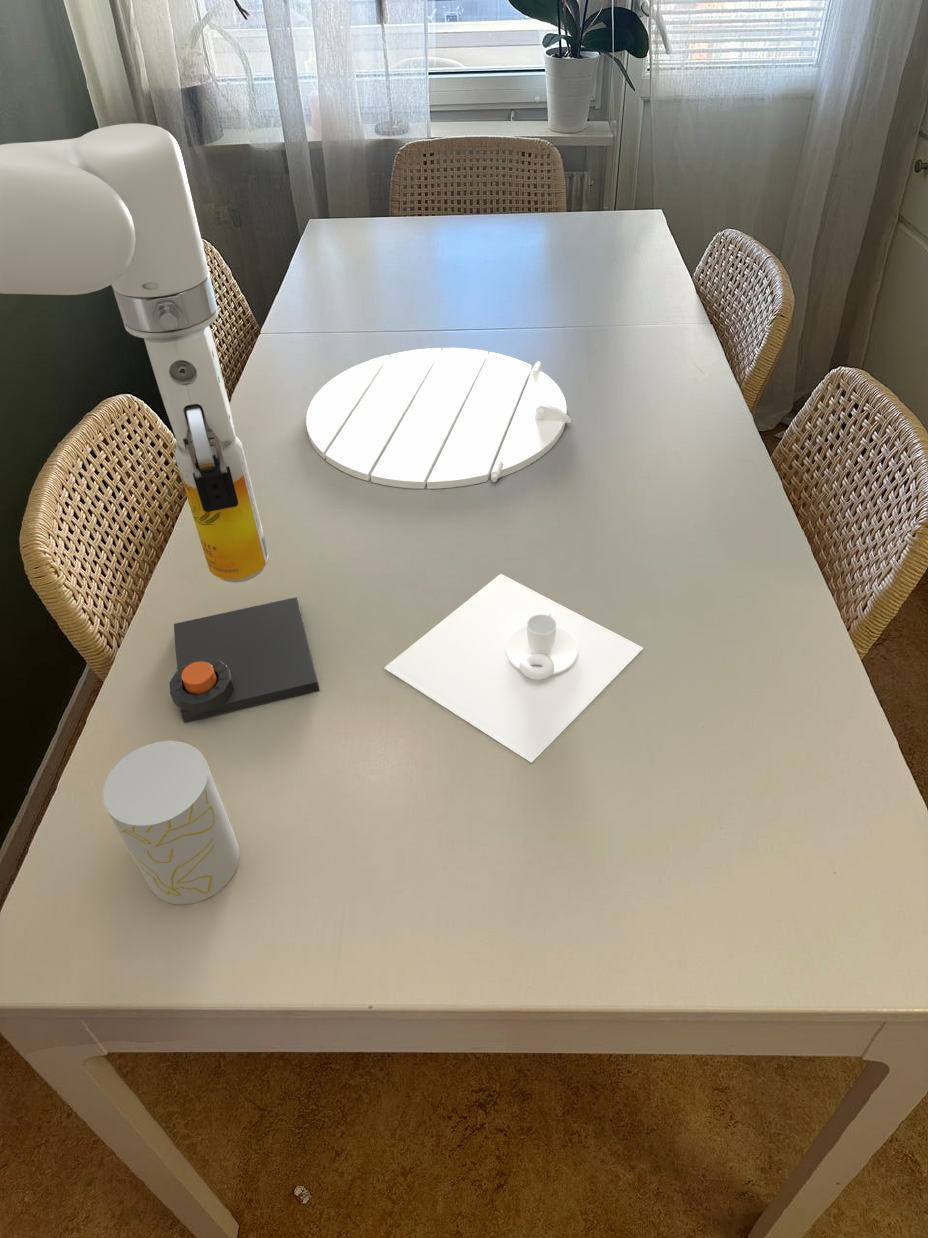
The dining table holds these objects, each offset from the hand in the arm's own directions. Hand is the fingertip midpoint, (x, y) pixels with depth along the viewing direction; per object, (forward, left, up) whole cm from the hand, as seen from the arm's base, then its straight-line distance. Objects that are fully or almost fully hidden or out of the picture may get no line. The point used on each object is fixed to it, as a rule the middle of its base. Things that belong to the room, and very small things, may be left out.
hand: (217, 485), depth 82 cm
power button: (-6, -6, -19) cm, 21 cm away
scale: (-2, -2, -21) cm, 21 cm away
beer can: (0, 0, -10) cm, 10 cm away
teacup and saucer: (+26, -11, -21) cm, 35 cm away
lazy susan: (+32, +41, -21) cm, 56 cm away
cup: (-9, -26, -21) cm, 35 cm away
